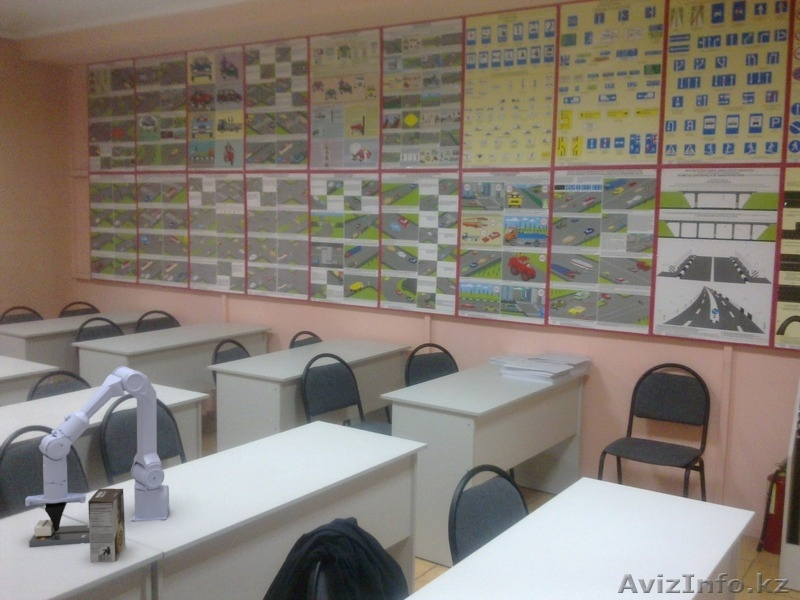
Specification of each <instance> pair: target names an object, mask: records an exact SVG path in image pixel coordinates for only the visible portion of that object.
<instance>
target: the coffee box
mask: <svg viewBox="0 0 800 600" xmlns="http://www.w3.org/2000/svg"><path fill="white" fill-rule="evenodd" d="M124 497H125V496H124V488H98V489H97V491H95V493H93V495H92V496H91V498H90V499H89V500H88V503H87V505H88V525H89V531H90V543H89V551H90V553H89V554H90V564H92V563H93V564H95V562H96V563H115V562H117V561H118V560H119V558H120V557H121V555H122V553H123V552H124V551H125V549H126V528H125V527H126V525H125V522H126V521H125V520H126V519H125V501H124Z"/></svg>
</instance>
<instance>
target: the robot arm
mask: <svg viewBox="0 0 800 600" xmlns="http://www.w3.org/2000/svg"><path fill="white" fill-rule="evenodd" d="M125 392H127V393H128V394H129V395H131V396H133V398H135V399H136V454H135V456H134V457H133V462H132V463H133V464H132V466H131V469H130V475H131V477H132V479H133V480H134V487H133V488H134V490H133V491H134V513H133V515H132V518H131V522H144V521H145V522H146V521H149V522H150V521H166V520H167V519H168V515H169V513H170V507H171V506H170V487H169V485H167V484H163V483H164V480H165V472H164V470H163V468H162V460H161V459H160V456H159V455H158V452H157V451H158V447H157V446H158V441H157V438H158V436H157V435H158V432H157V431H158V430H157V429H158V428H157V425H158V424H157V420H158V419H157V411H158V410H157V409H158V408H157V407H158V406H157V391H156V390H155V388H154V386H153V385H152V383H151V382H150V380H149V377H148V376H147V375H145V374H144V373H142V372H141V371H139V370H134V369H132V368H130V367H128V366H123V365H120V366H119V367H116V368H115V369H114V370H113V371H112V373H110V374H109V375H107V377H106V378H105V380H104V381H103V383H102V385H100V386H99V388H98V389H97V390H96V391H95V393H93V394H92V396H91V397H89V399H88V401H87V402H86V403H85V404H84V405H83V406H82V407H81V409H79V410H78V411H71V412H70V414H68V413H67V414H66V415H65V416H64V420H63V421H62V422H61V423H60V424H59V425H58V426H57V427H56V428H55V429H53V428H52V430H51V431H50V433H49V434H48V435H45V436H44V437H43V438H42V439H41V441H40V444H39V445H38V448H39V451H40V452H41V454H42V460H43V461H42V474H43V475H42V477H43V494H38V495H28V496H27V497H26V498H25V499H24V500H25V502H24V503H25V507H30V506H37V505H45V507H44V511H45V512H46V513H47V515H48V517H49V520H51V521H52V524H53V527H54V531H58V530H59V527H60V526H61V520H62V516H63V514H64V511H65V509H66V506H67V504H72V503H73V504H74V503H76V504H77V503H80V504H85V503H86V501H87V496H86V495H87V493H76V492H75V493H73V492H68V464H67V463H68V462H67V455H69V454H70V451H71V446H72V445H73V443H75V442H76V440H77V439H78V438H79V437H80V436H81V435H82V434H83V433H84V432H85V431H86V430H87V429H88V428H89V426H90V419H91V418H92V417H93V416H94V415H95V414H96V413H98V412H99V410H101V409H102V407H104V406H105V405H106V404H107V403H108V402H109V401H110V400H111V399H112V398H117V397H123V396H126V394H125Z"/></svg>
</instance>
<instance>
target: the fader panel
mask: <svg viewBox="0 0 800 600" xmlns="http://www.w3.org/2000/svg"><path fill="white" fill-rule="evenodd" d="M28 543H29V547H30V548H32V547H34V548H35V547H50V546H67V545H68V546H69V545H79V544H81V543H84V544H90V531H89V524H82V525H81V524H80V525H63V526H62V525H60V527H59V530H58V531H54V532H53V533H52V535H51V536H35V533H34V534H33V535H32V537H31V538H30V540H29V541H28Z"/></svg>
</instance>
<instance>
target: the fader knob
mask: <svg viewBox="0 0 800 600" xmlns="http://www.w3.org/2000/svg"><path fill="white" fill-rule="evenodd" d="M33 528H34V530H33V531H34V534H35V536H51V535H52V533H53V532H54V527H53V524H52V521H51V519H40V520H38V522H37V523H36V525H35V526H34V527H33Z"/></svg>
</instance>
